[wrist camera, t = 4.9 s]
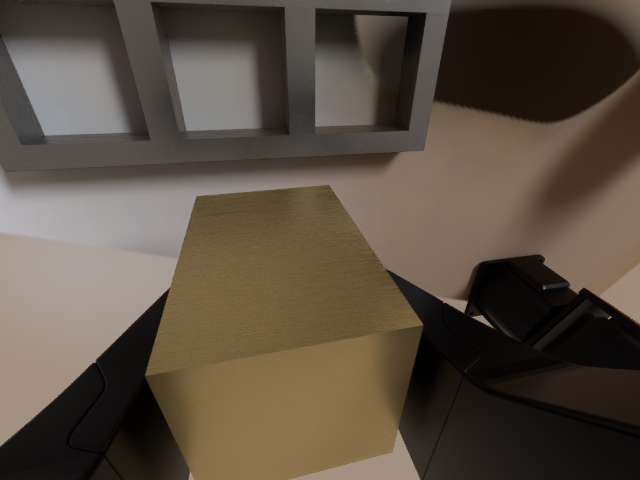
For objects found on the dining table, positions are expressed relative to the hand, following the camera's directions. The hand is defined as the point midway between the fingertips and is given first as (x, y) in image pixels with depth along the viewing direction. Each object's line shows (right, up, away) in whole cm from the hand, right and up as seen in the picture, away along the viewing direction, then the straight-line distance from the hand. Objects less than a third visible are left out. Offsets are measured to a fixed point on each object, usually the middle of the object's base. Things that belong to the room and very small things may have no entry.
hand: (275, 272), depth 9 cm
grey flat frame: (-3, +10, +7) cm, 13 cm away
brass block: (0, +1, +1) cm, 2 cm away
